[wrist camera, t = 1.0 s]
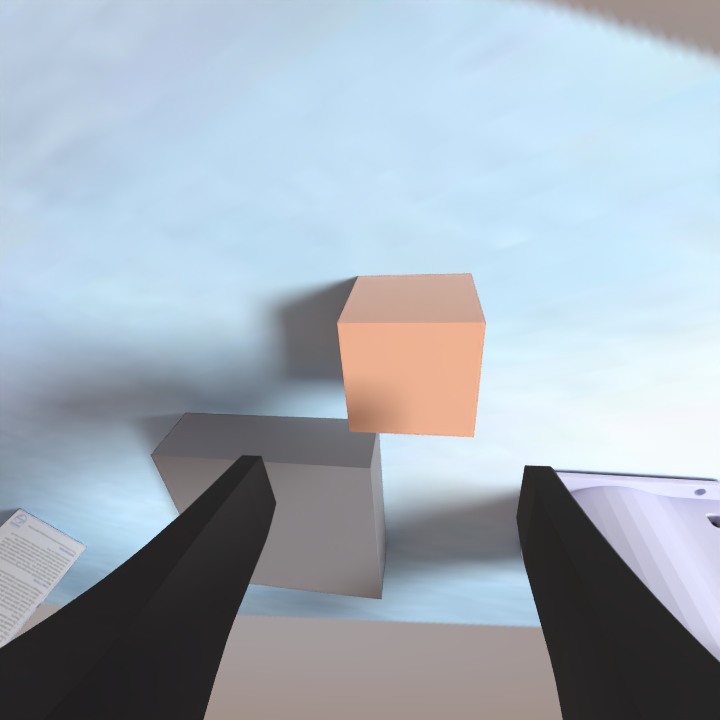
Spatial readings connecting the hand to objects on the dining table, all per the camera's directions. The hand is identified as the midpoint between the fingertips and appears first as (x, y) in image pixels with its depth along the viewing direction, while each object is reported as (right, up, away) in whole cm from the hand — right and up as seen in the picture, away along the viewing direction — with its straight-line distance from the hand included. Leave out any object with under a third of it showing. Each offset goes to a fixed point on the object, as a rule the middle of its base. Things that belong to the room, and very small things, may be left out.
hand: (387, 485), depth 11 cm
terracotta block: (+2, +5, +8) cm, 10 cm away
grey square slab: (-5, -5, +16) cm, 17 cm away
